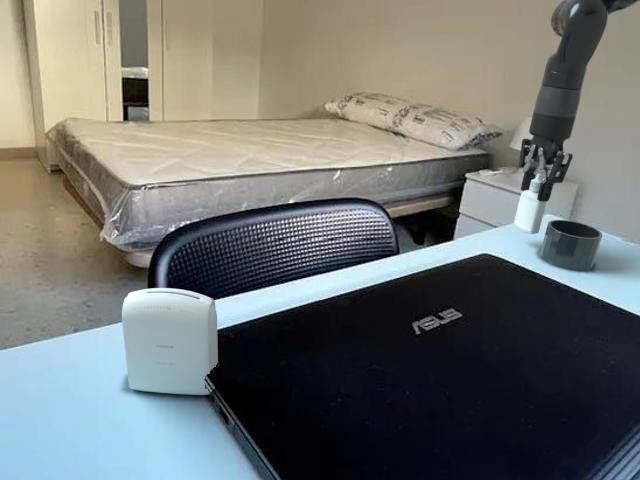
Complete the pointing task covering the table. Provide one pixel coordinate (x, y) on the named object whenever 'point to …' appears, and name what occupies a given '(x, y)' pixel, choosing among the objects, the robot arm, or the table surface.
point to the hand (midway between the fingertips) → (534, 195)
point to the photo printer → (169, 340)
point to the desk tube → (570, 245)
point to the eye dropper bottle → (530, 209)
